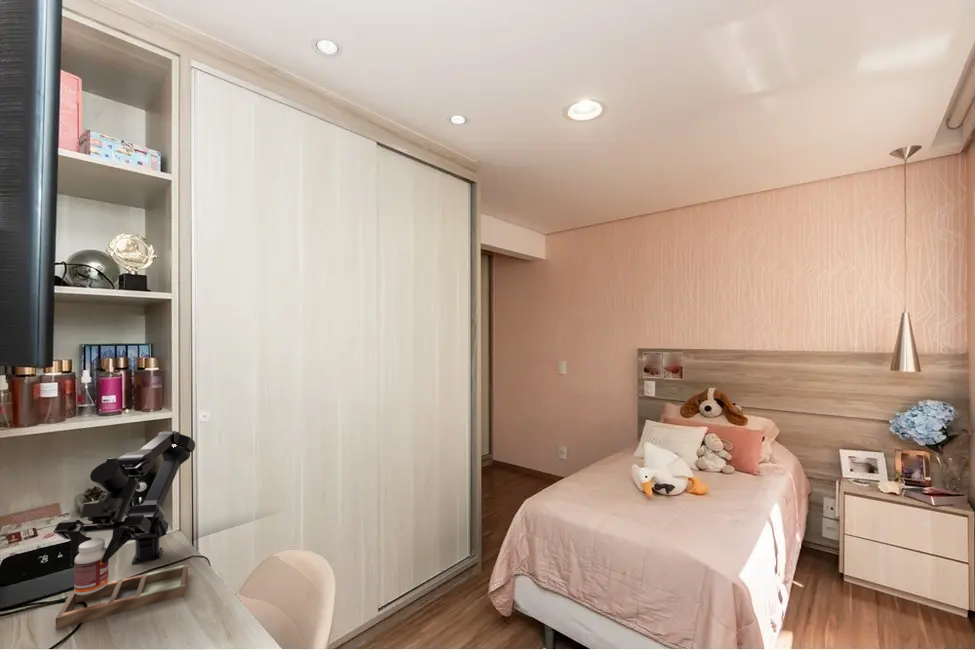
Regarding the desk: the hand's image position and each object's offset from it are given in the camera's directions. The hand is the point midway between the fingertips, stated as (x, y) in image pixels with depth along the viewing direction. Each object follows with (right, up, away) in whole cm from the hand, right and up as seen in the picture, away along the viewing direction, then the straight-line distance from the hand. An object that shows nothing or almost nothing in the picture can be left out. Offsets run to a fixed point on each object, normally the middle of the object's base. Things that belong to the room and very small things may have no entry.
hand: (87, 564), depth 104 cm
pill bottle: (0, -7, +1) cm, 7 cm away
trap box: (+6, -12, +5) cm, 14 cm away
